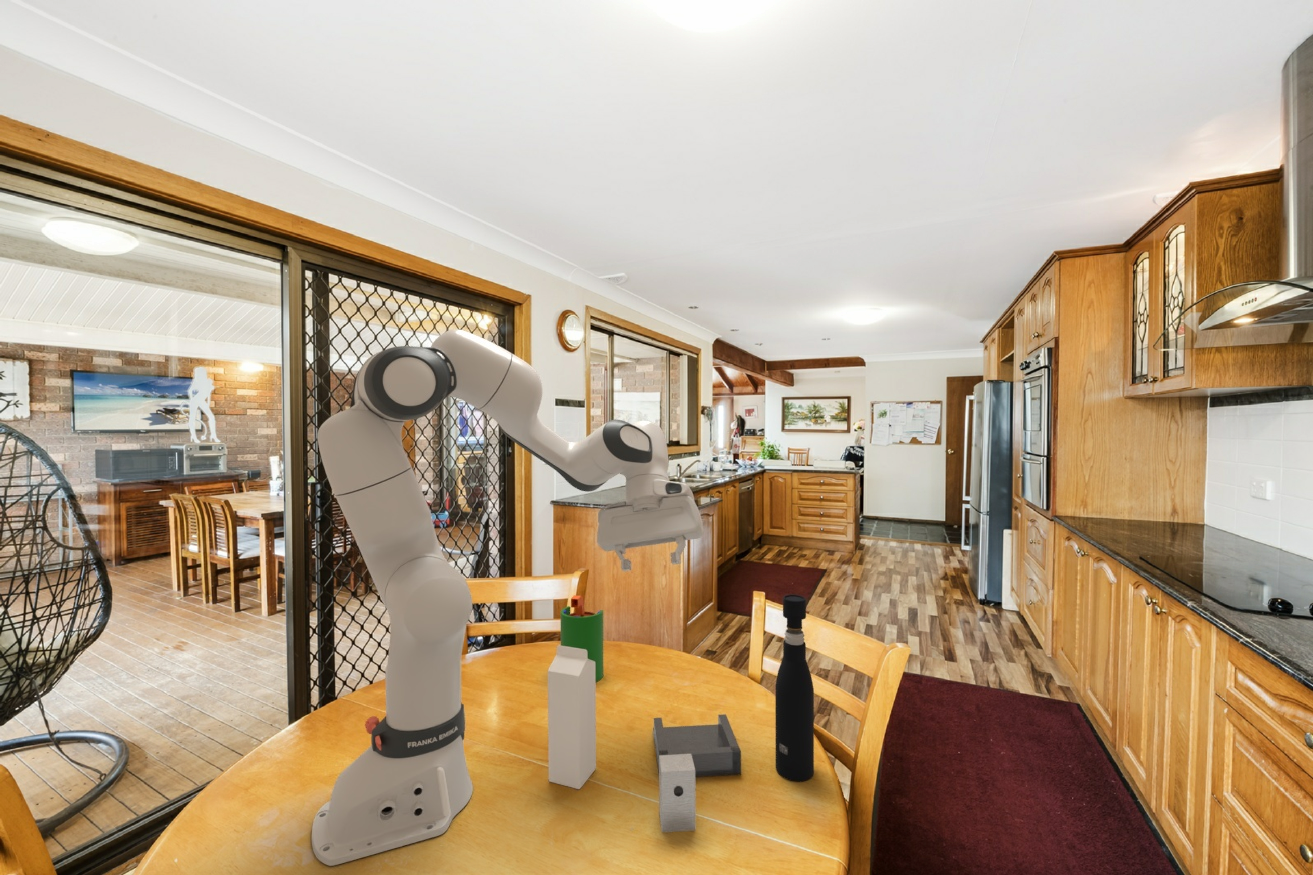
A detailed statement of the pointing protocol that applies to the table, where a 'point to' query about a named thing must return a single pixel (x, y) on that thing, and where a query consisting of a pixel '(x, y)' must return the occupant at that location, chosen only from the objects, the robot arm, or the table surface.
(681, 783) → the block
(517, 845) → the table surface
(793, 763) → the black water bottle
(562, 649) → the milk
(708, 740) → the bracket
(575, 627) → the green pencil holder
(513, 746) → the table surface
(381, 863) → the table surface
